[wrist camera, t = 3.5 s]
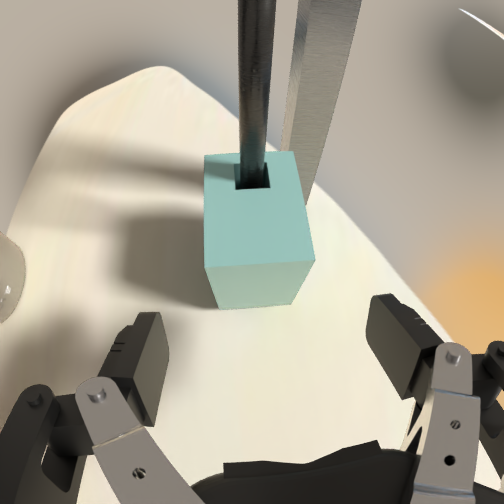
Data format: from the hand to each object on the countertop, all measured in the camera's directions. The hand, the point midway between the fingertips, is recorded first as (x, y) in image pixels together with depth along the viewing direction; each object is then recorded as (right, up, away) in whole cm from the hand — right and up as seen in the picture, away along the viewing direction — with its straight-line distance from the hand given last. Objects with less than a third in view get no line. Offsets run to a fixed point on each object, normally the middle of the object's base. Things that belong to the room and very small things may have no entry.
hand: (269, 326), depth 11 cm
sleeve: (-1, +1, +11) cm, 11 cm away
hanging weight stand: (+1, +5, +14) cm, 15 cm away
